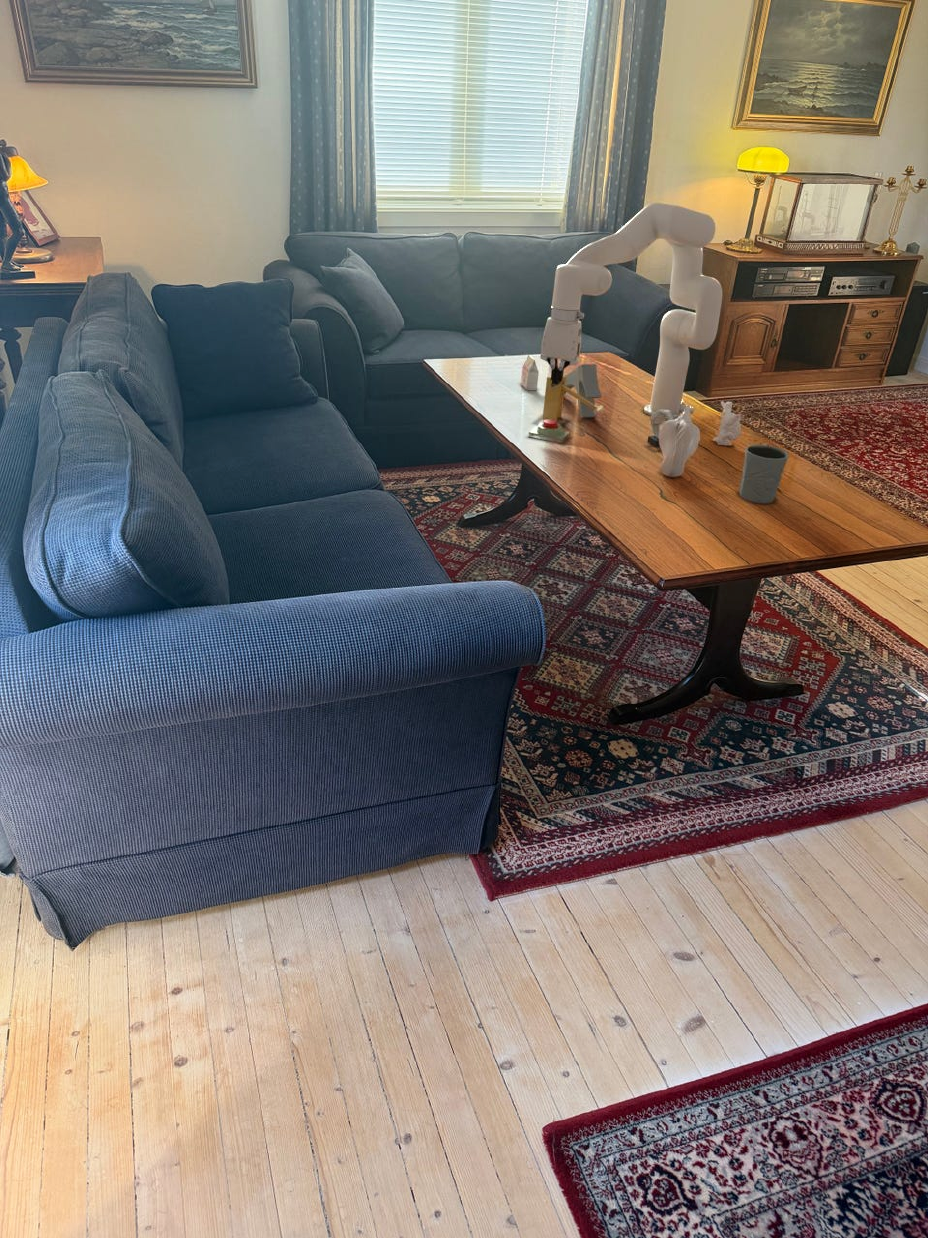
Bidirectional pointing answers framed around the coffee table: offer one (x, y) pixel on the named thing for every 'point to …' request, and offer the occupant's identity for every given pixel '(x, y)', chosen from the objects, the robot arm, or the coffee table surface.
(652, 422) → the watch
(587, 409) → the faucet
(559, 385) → the bracket
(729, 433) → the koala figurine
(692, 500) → the coffee table surface
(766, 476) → the grey cup
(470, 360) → the coffee table surface
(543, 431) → the button box
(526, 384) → the milk carton
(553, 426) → the stop button
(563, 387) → the tap lever
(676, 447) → the shell sculpture
